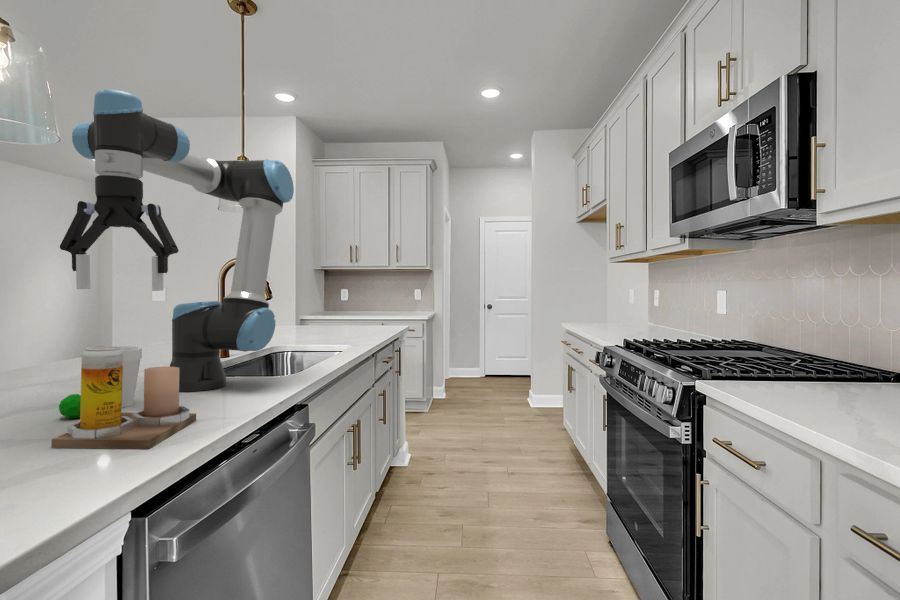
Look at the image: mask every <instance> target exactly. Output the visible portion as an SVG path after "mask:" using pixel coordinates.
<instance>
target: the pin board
mask: <svg viewBox="0 0 900 600" xmlns="http://www.w3.org/2000/svg"><path fill="white" fill-rule="evenodd" d="M133 413H134V412H128V411H127V412H125V411H122V416H126V417H127V416H128V417H129V418H131V419H132V414H133ZM196 421H197V412H196V413H193V412H192V413H191V412H190V417H189V418H187V419H186V420H184V421H182V422H180V423H174V424H168V425H162V426H139V425H136V424H135V423H133V429H131V430H129V431H127V432H125V433H123V434H120V435H116V436H110V437H104V438H98V439H73V438H71V437H70V436H69V435H68V434H67V432H65V433H62V434H61V435H58V436H56V437H54V438H51V444H50V445H51V449H103V450H105V449H106V450H107V449H110V450H112V449H113V450H114V449H115V450H118V449H119V450H123V449H126V450H127V449H128V450H129V449H130V450H150V449H151V448H153V447H156V445H158V444H159V443H161V442H163V441H165V440H166V439H168V438H170V437H171V436H173V435H175V434H176V433H178V432H180V431H181V430H183V429H185V428H186V427H188V426H189V425H191V424H193V423H195V422H196Z"/></svg>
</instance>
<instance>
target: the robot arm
mask: <svg viewBox="0 0 900 600" xmlns="http://www.w3.org/2000/svg"><path fill="white" fill-rule="evenodd" d="M143 111H144V108H143V103H142V100H141V99H140V97H139V96H137V95H135V94H133V93H131V92H127V91H122V90H117V89H101V90H98V91H97V92H95V94H94V101H93V112H92V115H93V121H91V122H90V121H89V122H82V123H79V124H77V125H76V126H75V127H74V128H73V130H72V134H71V143H72V144H73V147H74V149H75V150H76V151H77V153H78V154H80V156H81V157H84V158H85V159H88V160H94V171H95V173H96V174H97V175H96V176H95V177H94V194H95V197H96V201H95V203H91V202H89V201H88V202H87V201H82V200H79V201H78V202H77V207H76V213H75V215H74V217H73V219H72V220H71V223H70V225H69V227H68V229H67V231H66V233H65V235H64V237H63V238H62V240H61V242H60V244H59V249H60V251H66V252H68V253H70V255H71V269H72V271H73V272H75V274H76V276H75V279H76V280H75V281H76V290H90V289H91V260H90V259H91V257H90V254H88V253H87V251H88V250H89V249H90V248H91V246H93V244H94V243H95V242H96V241H97V240H98V239H99V237H101V235H102V234H103V233H104V232H105V231H106V230H108V229H109V228H110V227H112V228H121V227H123V228H132V229H133V230H134V231H136V233H137V234H138V235H139V236H140V237H141V238H142V240H143V241H144V242H145V243H146V244H147V245H148V246H149V248H150V249H151V250H152V251H153V252H154V254H155V255H154V256H151V283H152V284H151V291H152V292H160V291H161V292H163V291H164V274H168V272H169V263H168V262H169V260H168V259H169V257H170V255H173V254H178V253H179V252H180V251H179V248H178V245H177V244H176V241H175V240H174V238H173V236H172V233H170V230H169V228H168V227H167V224H166V223H165V221H164V218H163V216H162V210H161V206H160V205H158V204H155V203H148V204H146V205H144V204H143V199H144V183H143V181H142V180H141V179H142V178H143V176H144V171H145V172H147V173H150V174H154V175H156V176H158V177H159V176H160V177H163V178H166V179H169V180H172V181H176V182H179V183H182V184H186V185H188V186H192V188H193V189H194V190H196V191H197V192H199V193H202V194H206V195H209V196H211V197H215V198H218V199H222V200H225V201H230V202H236V203H238V204H239V205H240V207H241V208H242V210H243V211H242V216H241V217H242V218H241V223H240V229H239V230H240V231H239V236H238V237H239V238H238V243H237V250H236V256H235V262H234V267H233V269H234V270H233V276H232V282H231V287H230V293H228V294H227V295H225V296H224V297H223V299H222V304H221V301H219V300H212V301H209V300H207V301H199V302H198V301H197V302H196V301H195V302H186V303H180V304H177V305H175V306H174V308H173V311H172V318H171V324H172V325H171V330H172V331H171V347H172V348H171V351H172V352H171V353H172V354H171V361H170V363H169V366H168V367H179V392H202V391H209V390H215V389H219V388H223V387H224V386H226V385H227V376H226V372H225V370H224V367H223V362H222V361H221V358H220V357H221V356H220V353H221V352H220V351H221V350H223V351H239V352H257V351H260V350H263V349H264V348H266V347H267V345H268V344H269V343H270V342H271V340H272V338H273V336H274V333H275V330H276V329H275V328H276V319H275V317H276V316H275V314H274V312H273V311H272V309H270V308H269V307H270V303H269V301H268V300H267V298H265V294H266V287H267V286H266V285H267V280H268V273H269V266H270V259H271V251H272V246H273V245H272V244H273V237H274V231H275V223H276V217H277V215H279V214H281V213H282V212H283V206H284V204H286V203H289V202H290V201H291V200H292V199H293V197H294V182H293V178H292V175H291V173H290V170H289V168H288V167H287V166H286V164H285V163H283V162H282V161H280V160H275V159H272V160H270V159H267V158H265V159H260V160H259V159H258V160H215V159H213V158H209V157H198V156H195V155H192V154H190V148H191V147H190V146H191V142H190V141H191V140H190V139H189V136H188V134H187V133H186V132H185V131H184V130H183V129H181V128H179V127H177V126H175V125H174V124H172V123H168V122H165V121H163V120H161V119H158V118H155V117H152V116H150V115H148V114H146V113H144V112H143ZM95 213H97V216H96V218H94V220H93V221H92V222H91V223H92V224H91V225H90V227H89V228H88V229H87V230H86V228H87V226H88V224H89V222H90V220H91V219H92V215H93V214H95ZM144 214H145V215H146V216H148V218H149V220H150V223H151V225H152V227H153V229H154V230H155V232H156V233H157V236H158V238H159V239H158V238H157V237H156V235H155V234H154V233H153V232H152V231H151V230H150V229H149V227H148V226H147V224H146V223H145V221H144V220H143V219H142V218H141V217H143V215H144ZM85 230H86V231H85Z"/></svg>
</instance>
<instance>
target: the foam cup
mask: <svg viewBox="0 0 900 600" xmlns="http://www.w3.org/2000/svg"><path fill="white" fill-rule="evenodd" d="M114 346H115V347H120V348H121V351H122V353H123V376H122V408H126V407H129V406H132V405H134V401H135V395H136V388H137V382H138V378H139V370H140V369H139V368H140V365H141V359H143V355H142V353H143V349H142V347H141V346H136V345H117V346H116V345H114Z"/></svg>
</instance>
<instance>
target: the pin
mask: <svg viewBox="0 0 900 600" xmlns="http://www.w3.org/2000/svg"><path fill="white" fill-rule="evenodd" d="M143 373H144V374H143V375H144V377H143V384H144V385H143V409H144V417H163V416H169V415H175V414H179V406H180V391H179V367H169V366H153V367H147V368H145V369H144V370H143Z"/></svg>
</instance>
